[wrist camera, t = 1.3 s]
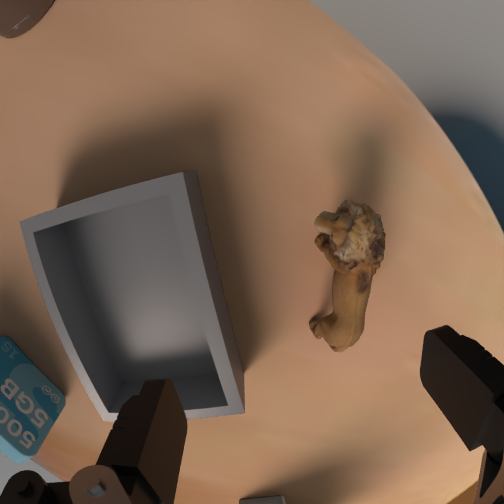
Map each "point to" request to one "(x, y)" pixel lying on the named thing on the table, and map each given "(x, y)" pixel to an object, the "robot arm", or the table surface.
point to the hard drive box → (264, 500)
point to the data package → (24, 404)
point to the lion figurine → (348, 269)
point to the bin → (139, 295)
